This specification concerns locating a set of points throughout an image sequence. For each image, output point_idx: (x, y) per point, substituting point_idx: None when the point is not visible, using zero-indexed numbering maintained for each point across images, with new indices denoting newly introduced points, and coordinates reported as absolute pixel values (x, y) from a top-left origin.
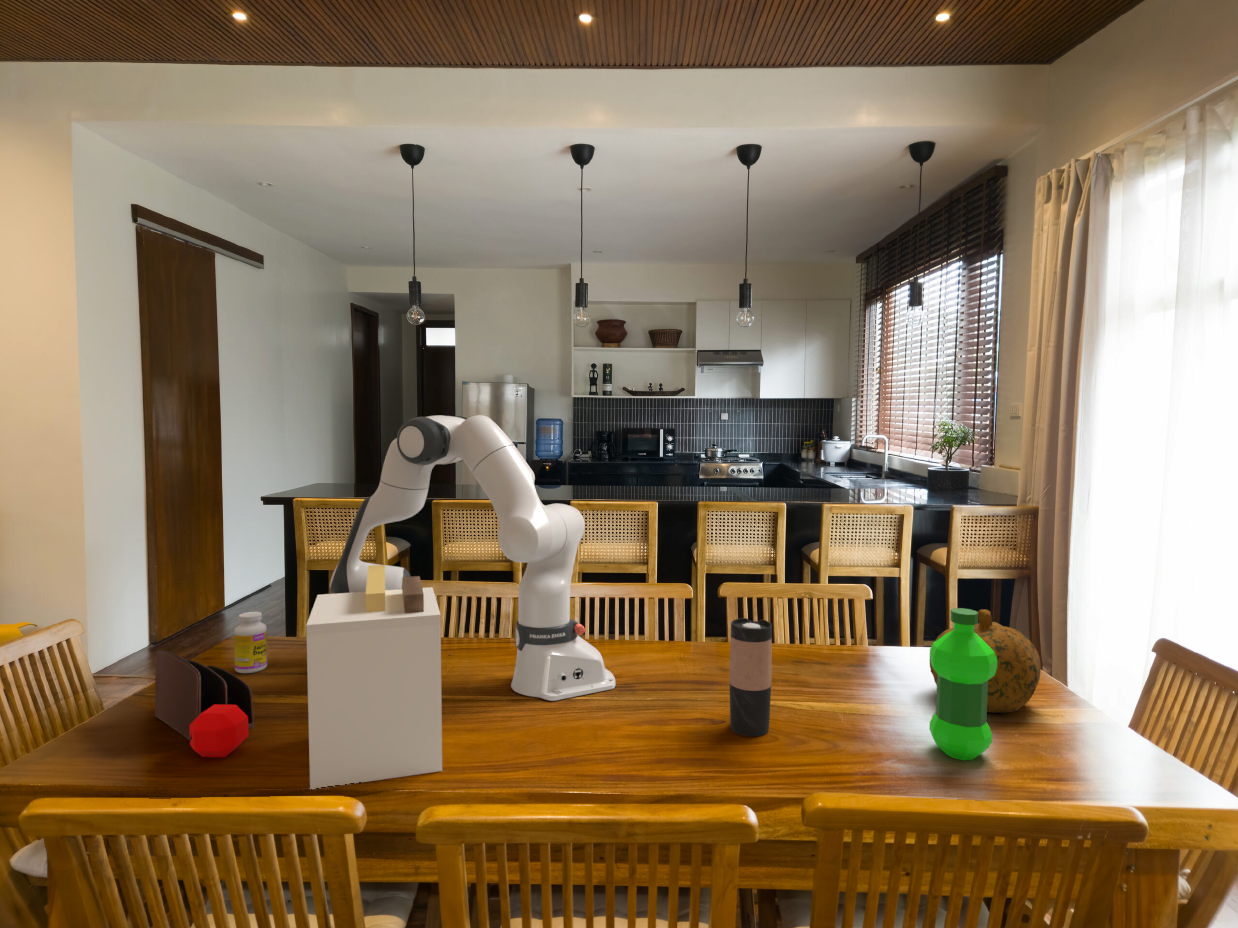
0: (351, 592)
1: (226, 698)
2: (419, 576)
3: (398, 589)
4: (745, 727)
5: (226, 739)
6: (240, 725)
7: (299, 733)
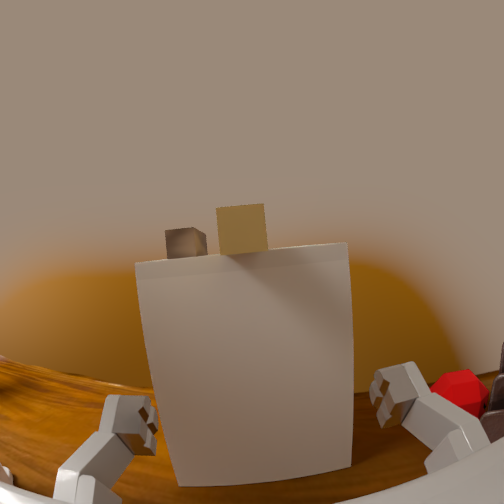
0: (407, 362)
1: (490, 397)
2: (165, 230)
3: (144, 397)
4: None
5: None
6: None
7: (387, 469)
